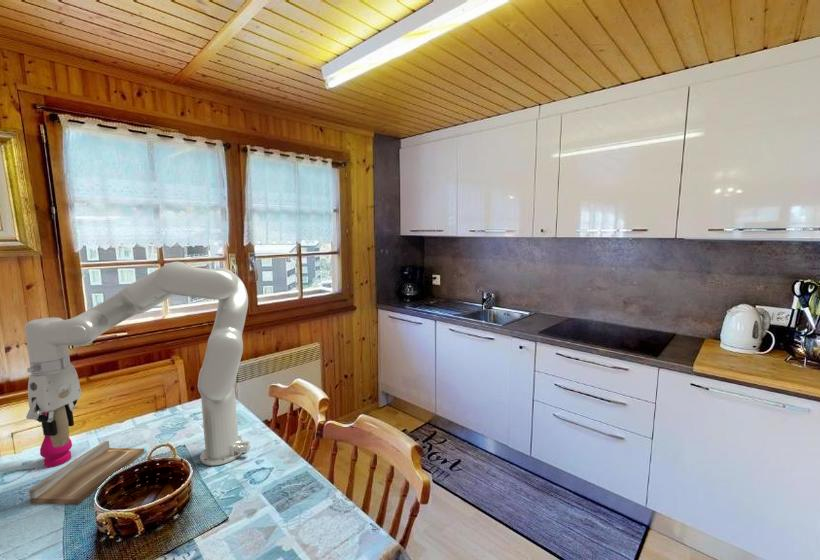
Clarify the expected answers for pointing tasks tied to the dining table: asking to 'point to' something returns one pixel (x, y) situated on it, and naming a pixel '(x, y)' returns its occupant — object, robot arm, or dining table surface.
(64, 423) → the handle
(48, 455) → the pepper mill
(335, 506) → the dining table surface
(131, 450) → the board
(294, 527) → the dining table surface
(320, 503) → the dining table surface
